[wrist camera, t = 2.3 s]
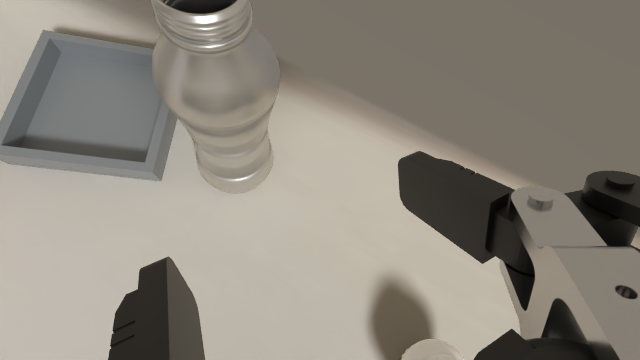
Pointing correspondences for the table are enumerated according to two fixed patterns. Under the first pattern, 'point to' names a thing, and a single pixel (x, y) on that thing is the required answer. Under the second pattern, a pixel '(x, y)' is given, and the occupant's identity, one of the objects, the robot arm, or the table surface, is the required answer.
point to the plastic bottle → (218, 86)
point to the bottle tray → (88, 110)
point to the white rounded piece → (432, 351)
